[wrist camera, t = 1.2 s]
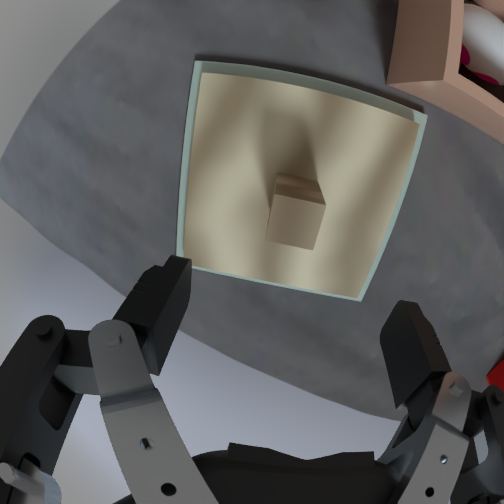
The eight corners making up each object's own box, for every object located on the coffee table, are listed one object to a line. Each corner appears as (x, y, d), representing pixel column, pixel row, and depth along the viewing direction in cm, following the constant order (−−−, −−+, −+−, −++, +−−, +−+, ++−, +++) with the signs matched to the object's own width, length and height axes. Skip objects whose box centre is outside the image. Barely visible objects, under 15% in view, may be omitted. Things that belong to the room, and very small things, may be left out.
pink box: (518, 29, 10) (578, 28, 2) (505, 145, 17) (569, 175, 9) (402, -43, 10) (445, -86, 2) (385, 84, 17) (443, 80, 9)
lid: (414, 122, 18) (453, 133, 12) (355, 291, 26) (367, 337, 20) (205, 73, 18) (176, 65, 13) (186, 257, 26) (163, 298, 21)
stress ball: (413, 38, 17) (419, 57, 14) (457, -15, 9) (478, -9, 7) (471, 90, 17) (487, 124, 15) (517, 46, 10) (546, 72, 7)
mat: (424, 115, 17) (427, 115, 17) (359, 297, 27) (360, 301, 26) (197, 61, 18) (195, 60, 17) (178, 261, 27) (176, 264, 26)
